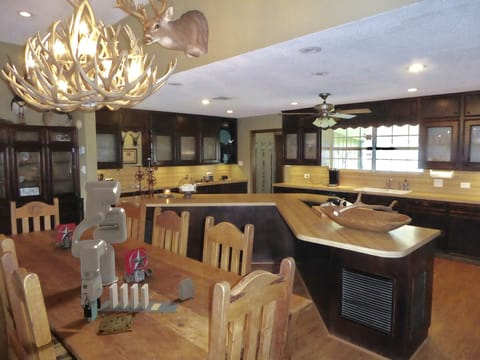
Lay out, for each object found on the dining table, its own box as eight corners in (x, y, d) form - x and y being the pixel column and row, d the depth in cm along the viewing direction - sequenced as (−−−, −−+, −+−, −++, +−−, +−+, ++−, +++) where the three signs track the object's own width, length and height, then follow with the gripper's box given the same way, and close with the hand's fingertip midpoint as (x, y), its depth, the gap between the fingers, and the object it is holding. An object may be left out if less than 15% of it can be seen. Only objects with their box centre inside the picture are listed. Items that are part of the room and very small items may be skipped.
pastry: (87, 329, 139) (87, 322, 139) (122, 312, 153) (122, 305, 153) (113, 342, 129) (113, 334, 129) (148, 322, 144) (148, 316, 143)
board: (96, 312, 151) (96, 310, 151) (106, 302, 161) (106, 300, 161) (174, 314, 149) (174, 312, 149) (179, 304, 159) (179, 302, 159)
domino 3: (120, 308, 153) (119, 287, 152) (124, 303, 158) (124, 283, 157) (123, 308, 153) (123, 287, 152) (128, 303, 158) (127, 283, 157)
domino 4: (131, 308, 153) (130, 288, 152) (135, 303, 158) (134, 283, 157) (134, 309, 153) (133, 288, 152) (138, 303, 158) (137, 283, 157)
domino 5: (141, 309, 153) (141, 288, 152) (145, 304, 158) (144, 283, 157) (145, 309, 152) (144, 288, 152) (148, 304, 157) (148, 283, 157)
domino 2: (110, 308, 154) (109, 287, 153) (114, 303, 159) (113, 283, 158) (113, 308, 153) (112, 287, 152) (118, 303, 158) (117, 283, 157)
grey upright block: (194, 298, 166) (193, 278, 165) (182, 302, 161) (182, 282, 160) (190, 295, 169) (189, 276, 168) (178, 299, 164) (178, 280, 163)
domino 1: (88, 323, 142) (87, 301, 141) (94, 317, 147) (93, 296, 146) (92, 324, 142) (90, 301, 141) (97, 318, 147) (96, 296, 146)
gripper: (88, 281, 133) (90, 323, 135) (108, 266, 151) (110, 303, 152) (70, 281, 134) (73, 323, 136) (92, 265, 151) (94, 303, 153)
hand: (92, 312), depth 144 cm, fingers open, 7 cm apart
